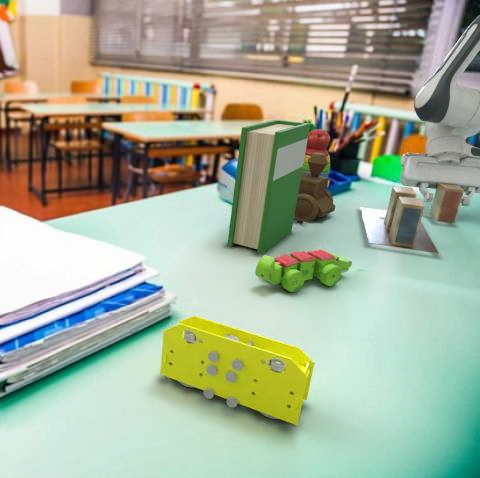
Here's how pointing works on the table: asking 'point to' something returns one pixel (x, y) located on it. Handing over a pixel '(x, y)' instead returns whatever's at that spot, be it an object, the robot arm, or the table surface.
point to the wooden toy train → (314, 191)
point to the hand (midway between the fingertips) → (447, 203)
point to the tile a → (393, 200)
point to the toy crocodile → (302, 268)
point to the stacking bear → (317, 149)
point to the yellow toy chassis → (238, 367)
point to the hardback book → (267, 183)
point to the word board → (381, 234)
